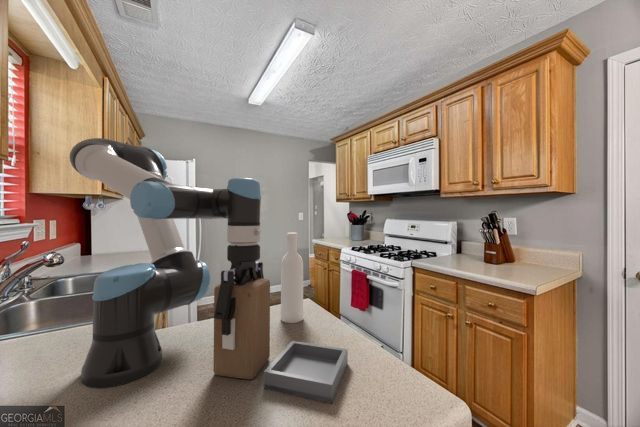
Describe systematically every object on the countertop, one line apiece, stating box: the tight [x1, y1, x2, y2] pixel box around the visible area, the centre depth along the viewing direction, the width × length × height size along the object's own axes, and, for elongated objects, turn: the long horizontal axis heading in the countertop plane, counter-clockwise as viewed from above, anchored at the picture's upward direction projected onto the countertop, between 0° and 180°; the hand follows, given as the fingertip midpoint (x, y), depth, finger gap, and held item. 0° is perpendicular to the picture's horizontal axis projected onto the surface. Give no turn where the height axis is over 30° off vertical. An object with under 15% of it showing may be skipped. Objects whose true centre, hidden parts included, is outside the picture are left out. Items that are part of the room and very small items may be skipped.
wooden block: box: [213, 278, 271, 380], centre depth 63 cm, size 10×10×20 cm
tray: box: [263, 340, 349, 404], centre depth 59 cm, size 14×14×4 cm
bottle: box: [280, 232, 304, 324], centre depth 93 cm, size 8×8×30 cm
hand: (243, 337), depth 63 cm, fingers closed on wooden block, 10 cm apart
